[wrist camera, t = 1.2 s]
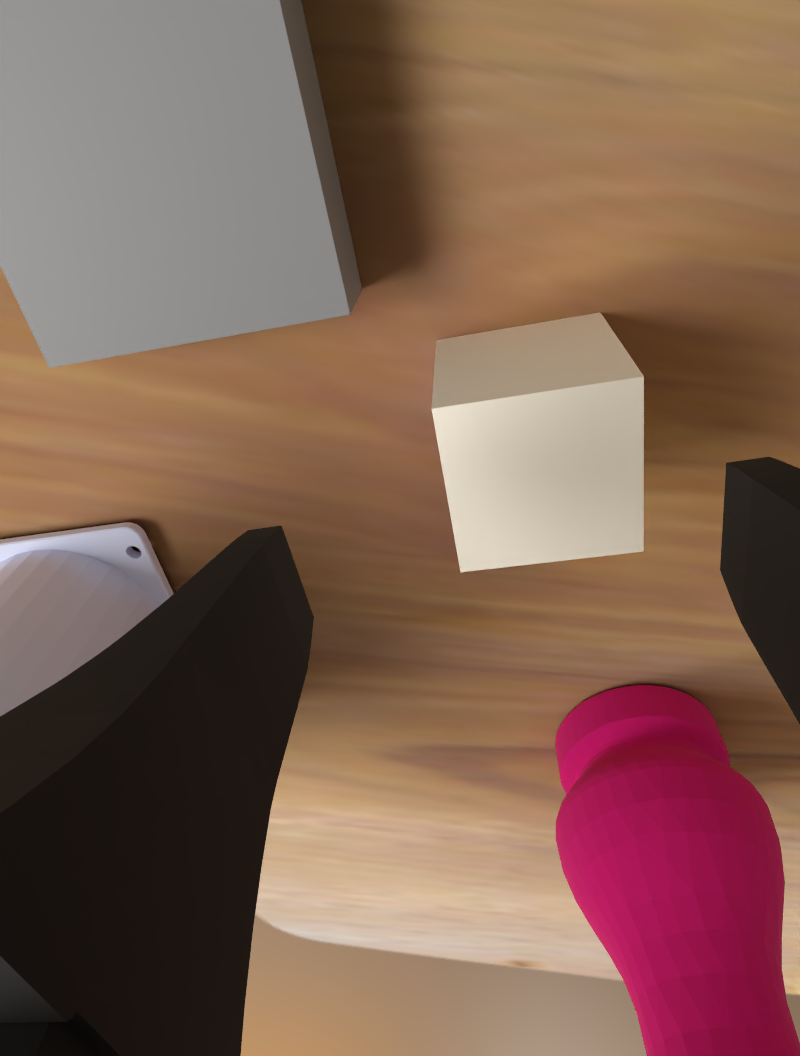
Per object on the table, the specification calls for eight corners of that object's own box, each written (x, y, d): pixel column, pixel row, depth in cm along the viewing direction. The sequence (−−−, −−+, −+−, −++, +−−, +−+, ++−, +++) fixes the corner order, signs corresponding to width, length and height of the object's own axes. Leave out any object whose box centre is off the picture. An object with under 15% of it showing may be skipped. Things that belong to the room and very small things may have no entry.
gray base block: (363, 285, 19) (349, 314, 16) (100, 333, 20) (49, 367, 17) (284, -95, 14) (248, -136, 12) (-44, -5, 16) (-138, -24, 13)
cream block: (604, 458, 21) (643, 551, 16) (458, 478, 21) (460, 572, 17) (600, 312, 18) (644, 376, 14) (436, 339, 19) (431, 409, 15)
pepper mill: (701, 649, 24) (1256, 1880, 8) (748, 768, 28) (1208, 1815, 11) (514, 706, 27) (622, 1759, 10) (578, 810, 30) (741, 1734, 13)
